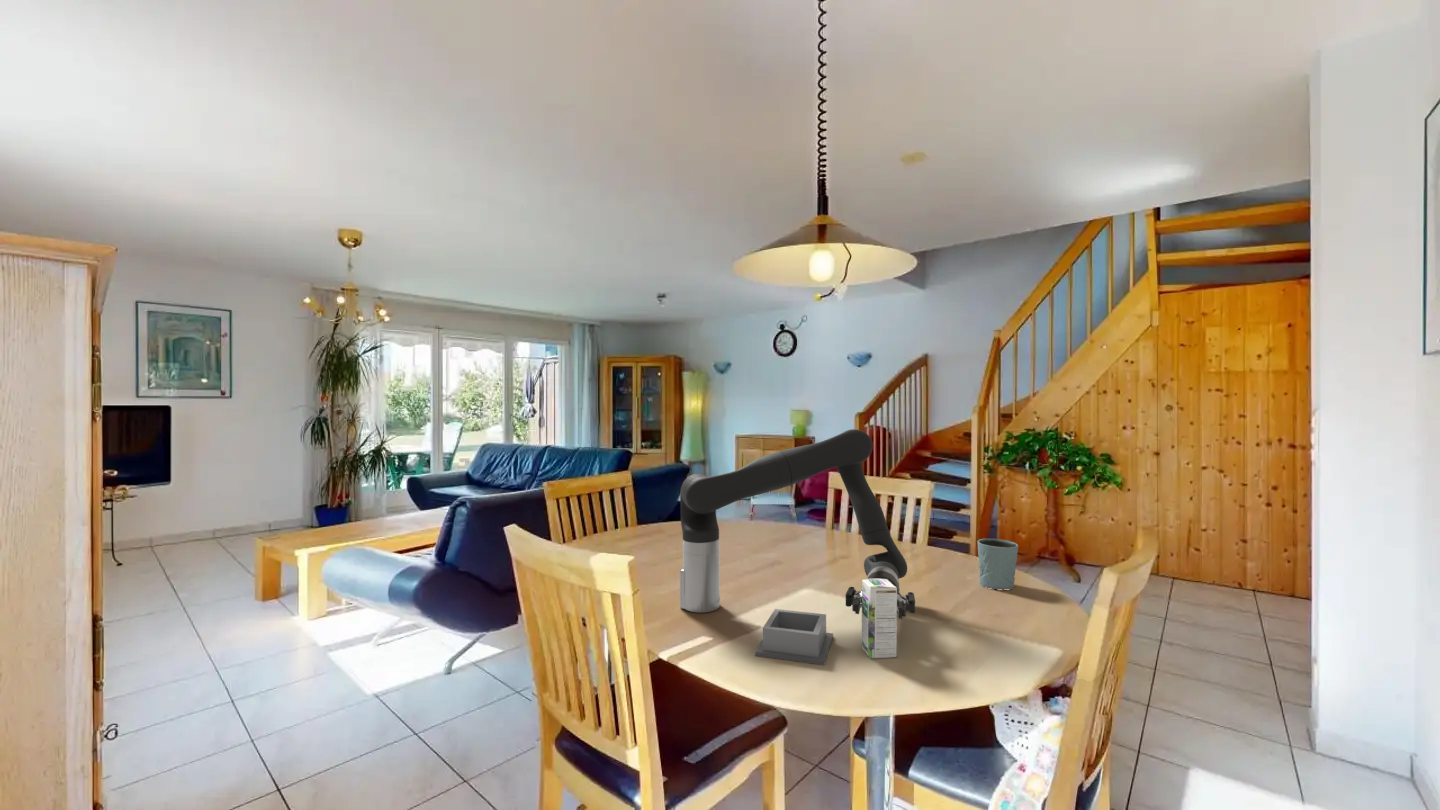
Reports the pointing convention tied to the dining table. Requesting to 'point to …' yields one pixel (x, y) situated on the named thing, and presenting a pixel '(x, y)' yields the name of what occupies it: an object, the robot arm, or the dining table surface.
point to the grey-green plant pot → (997, 563)
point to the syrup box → (879, 618)
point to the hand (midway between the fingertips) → (878, 611)
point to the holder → (795, 637)
